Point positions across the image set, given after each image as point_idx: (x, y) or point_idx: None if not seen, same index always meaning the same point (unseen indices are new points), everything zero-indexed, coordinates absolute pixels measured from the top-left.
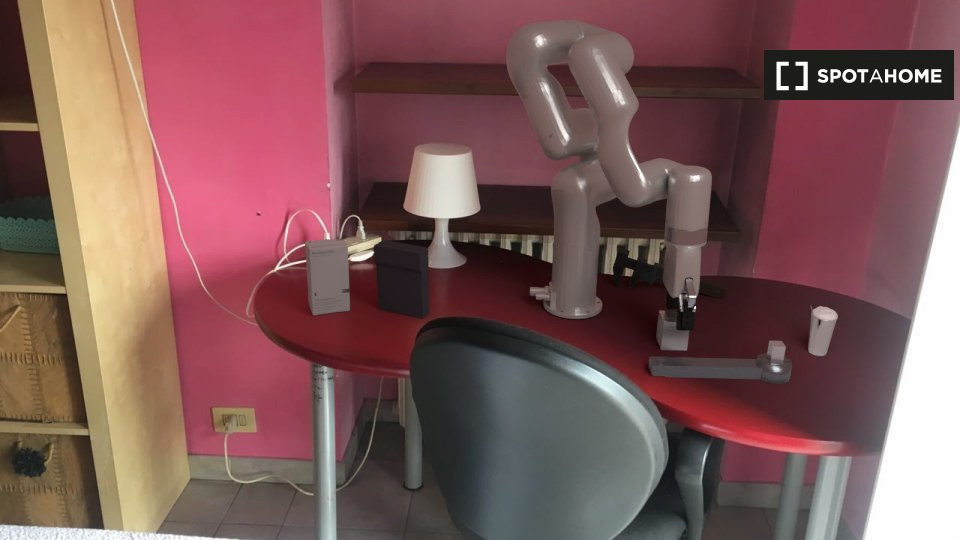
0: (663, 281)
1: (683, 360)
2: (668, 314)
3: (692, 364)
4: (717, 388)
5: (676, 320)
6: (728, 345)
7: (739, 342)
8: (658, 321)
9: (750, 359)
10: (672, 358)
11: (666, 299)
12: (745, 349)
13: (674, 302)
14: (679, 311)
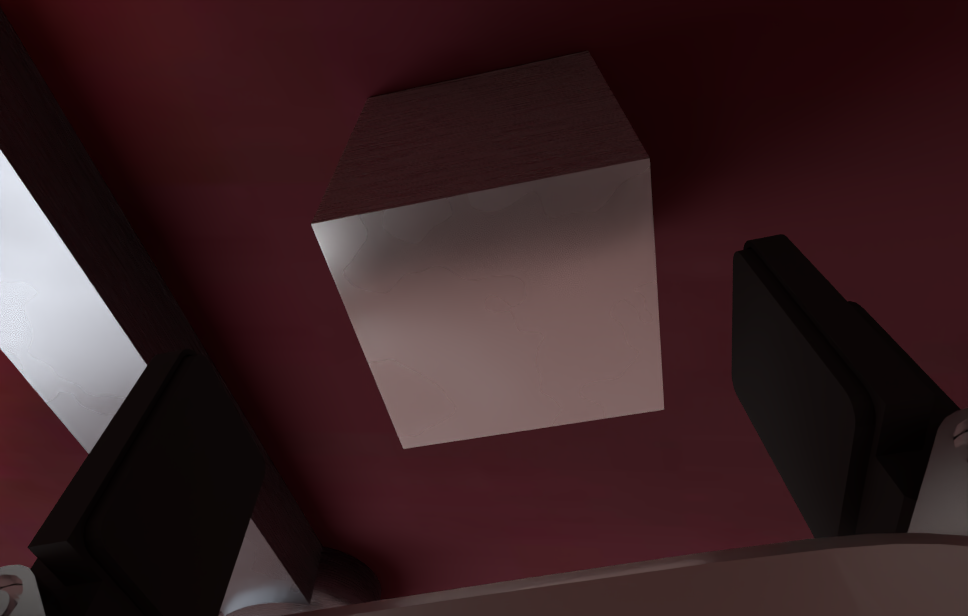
0: (910, 560)
1: (54, 301)
2: (548, 268)
3: (30, 354)
4: (26, 416)
5: (408, 344)
6: (559, 471)
7: (605, 510)
8: (590, 114)
9: (291, 586)
10: (27, 227)
11: (824, 292)
12: (530, 526)
13: (765, 365)
14: (44, 554)
